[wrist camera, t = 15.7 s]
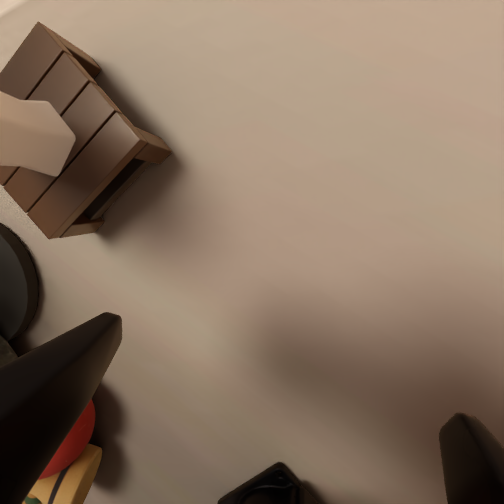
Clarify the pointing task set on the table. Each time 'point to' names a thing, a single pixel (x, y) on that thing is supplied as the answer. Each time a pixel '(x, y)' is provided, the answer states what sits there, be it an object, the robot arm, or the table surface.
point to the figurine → (15, 286)
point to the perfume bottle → (33, 135)
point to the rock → (6, 352)
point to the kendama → (70, 466)
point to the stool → (86, 133)
